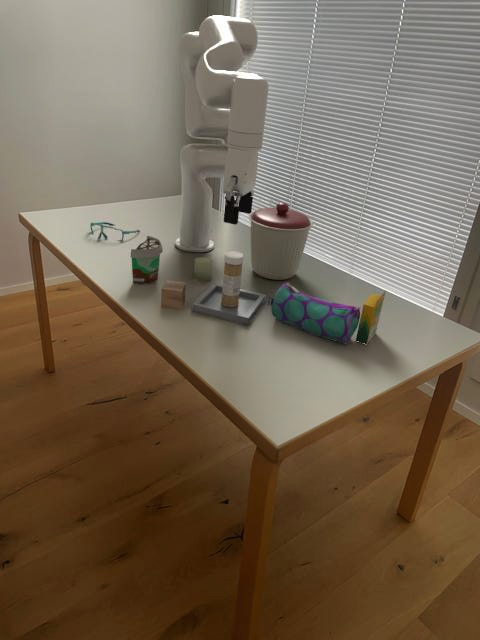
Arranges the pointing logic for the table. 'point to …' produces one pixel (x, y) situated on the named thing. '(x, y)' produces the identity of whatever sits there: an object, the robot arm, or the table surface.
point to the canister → (278, 241)
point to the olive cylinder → (203, 268)
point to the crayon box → (370, 318)
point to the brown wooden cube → (173, 294)
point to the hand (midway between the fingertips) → (237, 217)
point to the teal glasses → (110, 227)
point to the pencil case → (314, 314)
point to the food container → (146, 261)
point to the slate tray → (240, 314)
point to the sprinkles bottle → (232, 278)
